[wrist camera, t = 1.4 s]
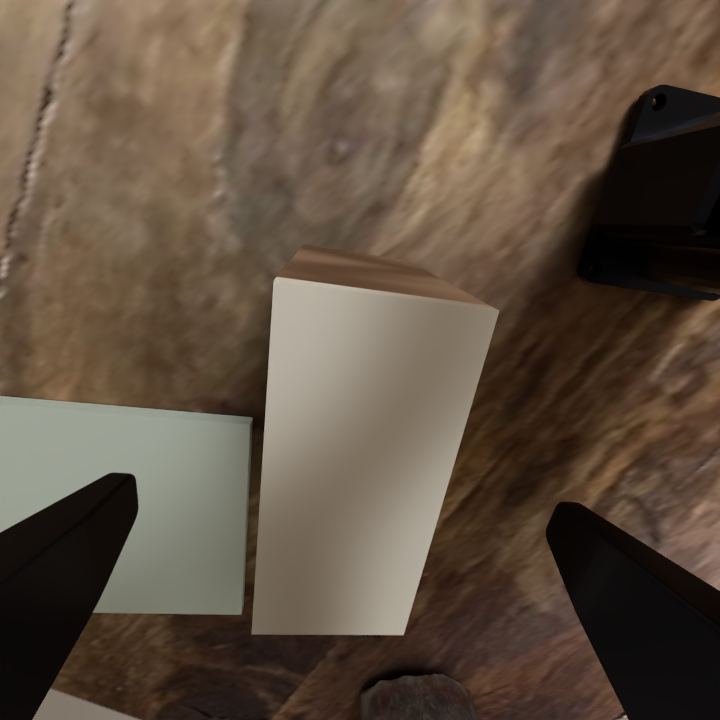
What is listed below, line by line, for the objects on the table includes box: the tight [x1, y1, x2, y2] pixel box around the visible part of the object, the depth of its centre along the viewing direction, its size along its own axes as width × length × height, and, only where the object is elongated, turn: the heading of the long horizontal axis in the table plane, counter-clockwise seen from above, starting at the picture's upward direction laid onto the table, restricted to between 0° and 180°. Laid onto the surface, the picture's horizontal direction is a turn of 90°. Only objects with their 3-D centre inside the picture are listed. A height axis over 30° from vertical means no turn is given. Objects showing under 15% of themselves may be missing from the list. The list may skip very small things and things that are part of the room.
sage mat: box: [0, 396, 253, 615], centre depth 17 cm, size 13×12×1 cm
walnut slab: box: [252, 245, 499, 635], centre depth 11 cm, size 4×9×8 cm, turn 172°
